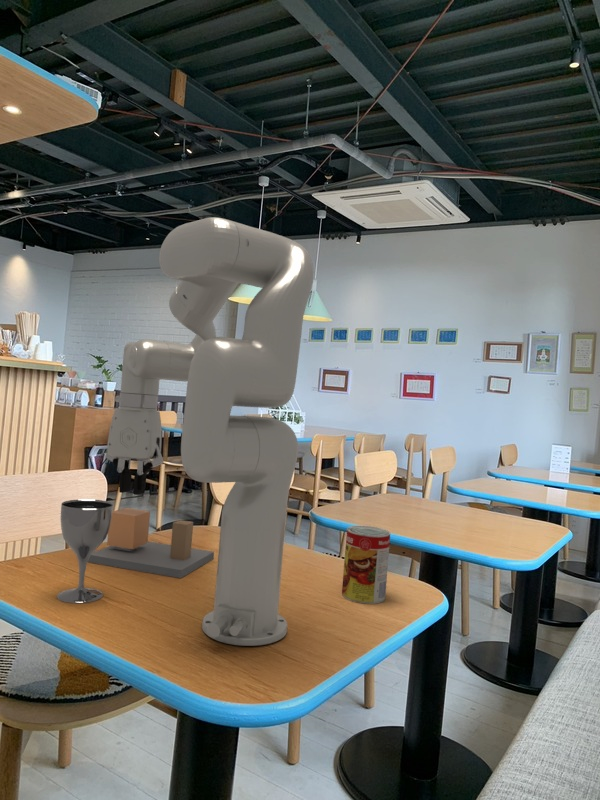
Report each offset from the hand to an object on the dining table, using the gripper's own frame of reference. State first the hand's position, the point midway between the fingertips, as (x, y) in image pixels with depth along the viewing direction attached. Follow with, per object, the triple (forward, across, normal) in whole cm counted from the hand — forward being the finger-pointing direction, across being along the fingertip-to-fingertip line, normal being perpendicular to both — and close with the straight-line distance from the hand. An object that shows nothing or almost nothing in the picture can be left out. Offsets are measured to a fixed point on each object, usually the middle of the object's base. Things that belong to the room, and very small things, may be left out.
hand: (131, 491), depth 120 cm
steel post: (+12, 0, 0) cm, 12 cm away
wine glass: (+13, +6, -24) cm, 28 cm away
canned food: (+13, +49, 0) cm, 51 cm away
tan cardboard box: (+11, 0, 0) cm, 11 cm away
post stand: (+13, +6, 0) cm, 14 cm away
